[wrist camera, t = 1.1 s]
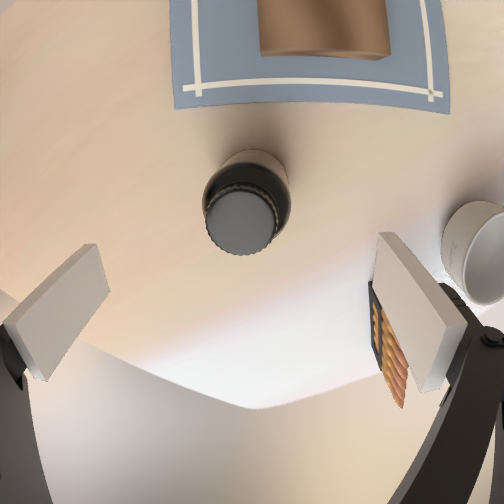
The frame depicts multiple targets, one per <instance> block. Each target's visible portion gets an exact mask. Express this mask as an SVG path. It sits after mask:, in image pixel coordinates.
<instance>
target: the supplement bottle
mask: <svg viewBox="0 0 504 504" xmlns="http://www.w3.org/2000/svg"><path fill="white" fill-rule="evenodd" d="M202 210H203V215H204V218H205V223H206V229H207V231H208V235H209V236H210V237H211V240H212V241H213V242H215V244H216V246H219V247H220V248H221V250H225V251H226V252H227V253H232V254H233V255H240V256H242V255H250V254H255V253H256V252H260V251H261V250H262V249H263V248H266V247H267V245H268V244H270V243H271V241H272V240H273V239H274V238H275V237H277V236H278V235H279V234H280V233H281V231H282V230H283V229H284V227H285V226H286V224H287V222H288V219H289V216H290V211H291V198H290V192H289V186H288V180H287V176H286V172H285V170H284V168H283V166H282V165H281V163H280V162H279V161H278V160H277V159H276V158H275V157H274V156H272V155H271V154H269V153H267V152H264V151H261V150H254V149H251V150H244V151H241V152H238V153H236V154H234V155H233V156H232V157H230V158H229V159H228V160H227V161H226V162H225V163H224V164H223V165H222V166H221V167H220V168H219V169H218V170H217V172H216V173H215V174H214V175H213V176H212V177H211V179H210V180H209V182H208V183H207V185H206V187H205V190H204V193H203V197H202Z"/></svg>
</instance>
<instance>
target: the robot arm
mask: <svg viewBox="0 0 504 504" xmlns="http://www.w3.org/2000/svg"><path fill="white" fill-rule="evenodd" d="M372 288H373V290H374V292H375V294H376V296H377V298H378V300H379V302H380V304H381V306H382V308H383V310H384V312H385V314H386V316H387V318H388V320H389V323H390V325H391V327H392V329H393V331H394V333H395V336H396V338H397V340H398V342H399V344H400V347H401V349H402V351H403V353H404V356H405V358H406V360H407V363H408V365H409V367H410V370H411V372H412V374H413V377H414V379H415V382H416V384H417V387H418V389H419V391H420V393H423V392H428V391H433V390H437V389H440V387H441V385H442V383H443V381H444V379H445V377H446V378H447V380H448V382H449V384H450V386H449V388H448V390H447V392H446V394H445V396H444V398H443V400H442V401H441V403H440V405H439V406H440V409H439V411H438V413H437V416H436V418H435V420H434V422H433V424H432V426H431V428H430V431H429V432H428V435H427V437H426V439H425V441H424V443H423V444H422V446H421V448H420V450H419V452H418V454H417V456H416V458H415V459H414V461H413V463H412V465H411V466H410V468H409V470H408V472H407V473H406V475H405V477H404V479H403V480H402V482H401V483H400V485H399V486H398V488H397V490H396V491H395V493H394V494H393V496H392V497H391V499H390V500H389V502H388V503H387V504H467V502H468V499H469V497H470V495H471V493H472V490H473V488H474V485H475V483H476V480H477V478H478V475H479V472H480V469H481V467H482V464H483V461H484V458H485V455H486V452H487V449H488V446H489V442H490V439H491V435H492V432H493V428H494V425H495V454H494V468H493V477H492V485H491V493H490V500H489V504H504V334H503V333H502V332H501V331H500V330H498V329H496V328H494V327H489V326H483V325H482V324H481V323H480V321H479V320H478V319H477V317H476V316H475V315H474V314H473V312H472V311H471V310H470V308H469V307H468V306H466V303H465V302H464V301H463V300H462V299H461V297H460V296H459V295H458V293H457V292H456V291H455V290H454V289H453V288H451V287H450V286H448V285H447V284H445V283H437V282H436V281H435V279H434V278H433V277H432V276H431V275H430V273H429V272H428V271H427V270H426V268H425V267H424V266H423V265H422V264H421V262H420V261H419V260H418V259H417V258H416V257H415V255H414V254H413V253H412V252H411V251H410V250H409V248H408V247H407V246H406V245H405V244H404V243H403V242H402V240H401V239H400V238H399V237H398V236H397V235H396V234H395V233H394V232H381V233H378V242H377V252H376V260H375V269H374V276H373V284H372ZM109 293H110V289H109V286H108V283H107V279H106V276H105V272H104V269H103V265H102V262H101V258H100V254H99V251H98V247H97V244H84V245H83V246H82V247H81V248H80V249H79V250H77V251H76V252H75V253H74V254H73V255H72V256H70V257H69V258H68V259H67V260H66V261H65V262H64V263H63V264H61V265H60V266H59V267H58V268H57V269H56V270H55V271H54V272H53V273H52V274H51V275H49V276H48V277H47V278H46V279H45V280H44V281H43V282H42V283H41V284H40V285H39V286H38V287H37V288H36V289H35V290H34V291H33V292H32V293H31V294H30V295H29V296H27V297H26V298H25V299H24V300H23V301H22V302H21V303H20V304H19V306H18V307H17V308H16V309H15V310H14V311H13V312H12V313H11V314H10V315H9V316H8V317H7V318H6V319H5V320H4V321H3V324H2V325H1V326H0V504H53V502H52V499H51V496H50V493H49V490H48V487H47V483H46V480H45V476H44V472H43V469H42V465H41V460H40V456H39V452H38V448H37V442H36V437H35V432H34V427H33V421H32V415H31V408H30V401H29V392H28V383H27V378H26V376H25V375H24V373H23V372H24V371H25V369H26V368H28V370H29V371H30V373H31V375H32V376H33V378H35V379H38V380H41V381H45V382H47V380H48V379H49V377H50V376H51V375H52V373H53V372H54V370H55V369H56V367H57V366H58V364H59V363H60V361H61V360H62V358H63V356H64V355H65V354H66V352H67V351H68V349H69V348H70V346H71V345H72V344H73V342H74V341H75V339H76V338H77V337H78V335H79V334H80V332H81V331H82V329H83V328H84V327H85V325H86V324H87V323H88V321H89V320H90V318H91V317H92V316H93V314H94V313H95V312H96V310H97V309H98V308H99V306H100V305H101V304H102V302H103V301H104V300H105V298H106V297H107V296H108V294H109Z"/></svg>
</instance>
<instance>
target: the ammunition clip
mask: <svg viewBox="0 0 504 504" xmlns="http://www.w3.org/2000/svg"><path fill="white" fill-rule="evenodd" d="M372 284H373V281H371V282H368V288H369V302H370V320H371V345H372V348H373V351H374V354H375V357H376V360H377V362H378V365H379V368H380V371H382V372H383V374H384V377H385V380H386V383H387V385H388V386H389V388H390V390H391V393H392V395H393V398H394V400H395V402H396V403H397V405H398V406H399V407H400V408H403V404H404V403H403V402H404V401H403V400H404V398H405V389H406V380H407V375H408V372H407V368H408V367H409V365H408V363H407V360H406V358H405V356H404V353H403V351H402V349H401V347H400V344H399V342H398V340H397V338H396V336H395V333H394V331H393V329H392V327H391V325H390V323H389V320H388V318H387V316H386V314H385V312H384V310H383V308H382V306H381V304H380V302H379V300H378V298H377V296H376V294H375V292H374V290H373V288H372Z"/></svg>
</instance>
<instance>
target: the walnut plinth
mask: <svg viewBox="0 0 504 504" xmlns="http://www.w3.org/2000/svg"><path fill="white" fill-rule="evenodd" d="M257 10H258V25H259V41H260V52H261V57H268V56H316V57H337V58H351V59H362V60H371V61H378V60H380V59H383V58H385V57H387V56H390V55H391V48H390V37H389V27H388V18H387V11H386V3H385V0H257Z"/></svg>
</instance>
